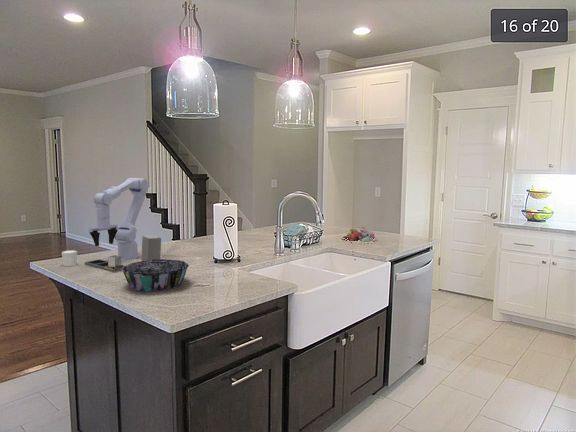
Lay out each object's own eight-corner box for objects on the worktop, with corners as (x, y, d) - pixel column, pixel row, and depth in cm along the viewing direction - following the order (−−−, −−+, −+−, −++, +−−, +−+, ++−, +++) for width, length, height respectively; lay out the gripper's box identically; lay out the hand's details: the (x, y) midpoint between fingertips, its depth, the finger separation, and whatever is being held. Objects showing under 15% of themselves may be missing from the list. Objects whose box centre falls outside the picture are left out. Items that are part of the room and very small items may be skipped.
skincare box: (140, 267, 207) (140, 235, 205) (154, 265, 212) (154, 234, 210) (147, 270, 201) (147, 237, 199) (161, 268, 205) (161, 236, 203)
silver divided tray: (99, 262, 215) (99, 259, 214) (128, 269, 202) (128, 266, 202) (84, 265, 208) (84, 261, 208) (113, 273, 195) (113, 269, 195)
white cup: (60, 267, 202) (59, 253, 201) (63, 264, 209) (63, 250, 208) (76, 267, 204) (75, 252, 203) (79, 263, 210) (78, 249, 210)
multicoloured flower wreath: (337, 238, 305) (337, 225, 304) (366, 237, 312) (367, 225, 311) (352, 245, 281) (353, 231, 280) (384, 244, 288) (384, 230, 287)
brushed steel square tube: (114, 267, 203) (114, 254, 203) (121, 268, 202) (120, 255, 201) (108, 269, 200) (108, 256, 199) (115, 270, 198) (114, 257, 198)
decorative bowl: (200, 289, 181) (201, 266, 180) (141, 298, 160) (142, 272, 159) (166, 277, 198) (167, 256, 197) (108, 284, 177) (109, 261, 176)
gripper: (111, 215, 216) (112, 241, 218) (84, 218, 204) (85, 245, 206) (120, 216, 212) (120, 243, 214) (93, 219, 200) (93, 247, 202)
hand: (104, 244), depth 209 cm, fingers open, 7 cm apart
